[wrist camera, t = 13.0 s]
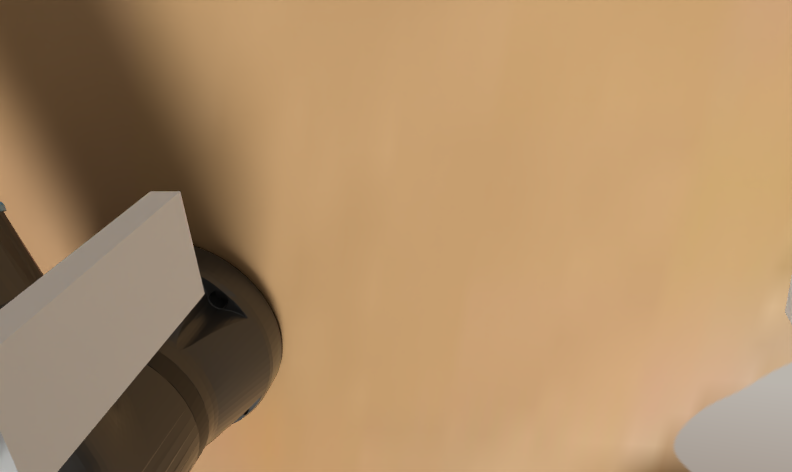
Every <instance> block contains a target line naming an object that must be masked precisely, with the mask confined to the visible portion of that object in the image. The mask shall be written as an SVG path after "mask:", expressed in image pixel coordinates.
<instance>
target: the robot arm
mask: <svg viewBox="0 0 792 472" xmlns="http://www.w3.org/2000/svg"><path fill="white" fill-rule="evenodd" d="M4 211H6V208H5V205H4V204H3V203H2V202H0V472H190V471H191V469H192V467H193V466H194V464H195V462H196V461H197V459H198V458H199V456H200V454H201V453H202V451H203V449H204V448H205V446H207V445H208V444H209V443H210V442H212V441H213V440H214V439H215V438H216V437H218V436H219V435H220V434H221V433H222V432H223V431H224V430H225V429H227V428H228V427H229V426H230V425H231V424H233V423H235V422H237V421H239V420H241V419H242V418H244V417H245V416H246V415H248V414H249V413H250V412H252V411H253V410H254V409H255V408H256V407H257V405H258V404H259V403H260V402H261V401H262V399H263V398H264V396H265V395H266V393H267V391H268V389H269V388H270V386H271V384H272V382H273V381H274V379H275V377H276V375H277V373H278V370H279V367H280V363H281V356H282V343H281V336H280V331H279V327H278V324H277V321H276V319H275V316H274V314H273V312H272V310H271V308H270V306H269V305H268V303H267V301H266V300H265V298H264V297H263V295H262V294H261V293H260V291H259V290H258V289H257V288H256V287H255V286H254V284H253V283H252V282H251V281H250V280H249V279H248V278H247V277H246V276H245V275H243V274H242V273H241V272H240V271H239V270H237V269H236V268H235V267H234V266H232V265H231V264H229V263H228V262H226V261H225V260H223V259H221V258H220V257H218V256H216V255H214V254H212V253H210V252H208V251H205V250H203V249H200V248H198V247H195V246H193V243H192V238H191V234H190V230H189V226H188V222H187V217H186V213H185V209H184V205H183V201H182V196H181V192H180V191H150V192H149V193H148V194H146V195H145V196H144V197H142V198H141V199H140V200H139V201H137V202H136V203H135V204H134V205H132V206H131V207H130V208H128V209H127V210H126V211H125V212H123V213H122V214H121V215H120V216H118V217H117V218H116V219H115V220H113V221H112V222H111V223H109V224H108V225H107V226H106V227H104V228H103V229H102V230H101V231H99V232H98V233H97V234H95V235H94V236H93V237H92V238H90V239H89V240H88V241H87V242H85V243H84V244H83V245H81V246H80V247H79V248H78V249H76V250H75V251H74V252H73V253H71V254H70V255H69V256H67V257H66V258H65V259H64V260H62V261H61V262H60V263H59V264H57V265H56V266H55V267H53V268H52V269H51V270H50V271H48V272H47V273H46V274H45V275H43V273H42V272H41V270H40V269H39V267H38V265H37V264H36V262H35V261H34V259H33V258H32V256H31V254H30V253H29V251H28V250H27V248H26V247H25V245H24V243H23V242H22V240H21V239H20V237H19V236H18V234H17V232H16V231H15V229H14V228H13V226H12V225H11V223H10V222H9V220H8V218H7V217H6V215H5V213H4ZM785 313H786V315H787V317H788V319H789V320H790V322H791V324H792V277H791V283H790V288H789V293H788V299H787V304H786V309H785Z"/></svg>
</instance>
